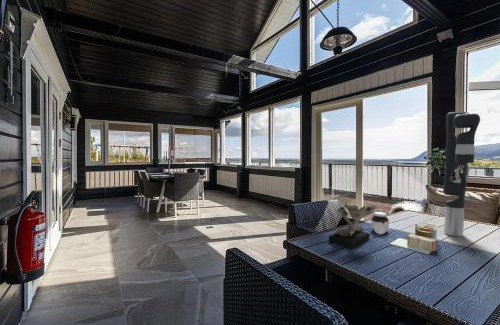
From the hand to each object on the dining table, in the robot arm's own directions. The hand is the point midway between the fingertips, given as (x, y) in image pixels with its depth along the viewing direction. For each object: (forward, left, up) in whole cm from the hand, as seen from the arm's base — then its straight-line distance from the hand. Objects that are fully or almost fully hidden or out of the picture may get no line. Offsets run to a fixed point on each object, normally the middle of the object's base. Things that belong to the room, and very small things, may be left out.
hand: (463, 187), depth 134 cm
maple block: (+12, -8, -30) cm, 33 cm away
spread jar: (0, -40, -33) cm, 52 cm away
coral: (+29, -42, -33) cm, 61 cm away
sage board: (+12, -18, -33) cm, 40 cm away
